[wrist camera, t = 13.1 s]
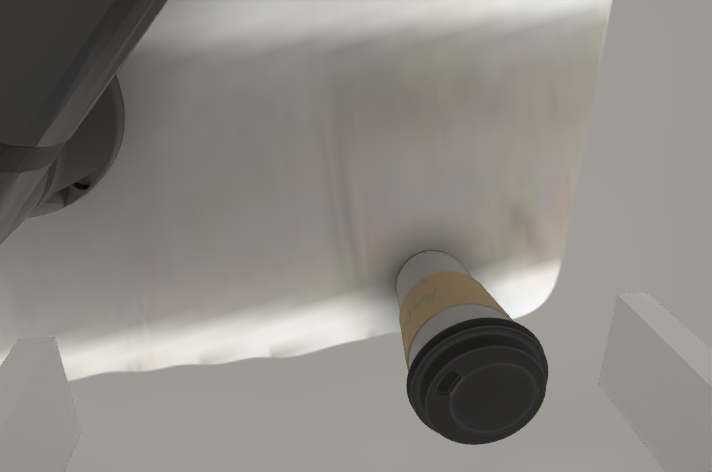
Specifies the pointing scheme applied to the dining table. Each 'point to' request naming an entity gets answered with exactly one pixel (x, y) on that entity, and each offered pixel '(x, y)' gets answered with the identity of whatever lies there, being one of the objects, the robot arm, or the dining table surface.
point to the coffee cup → (465, 354)
